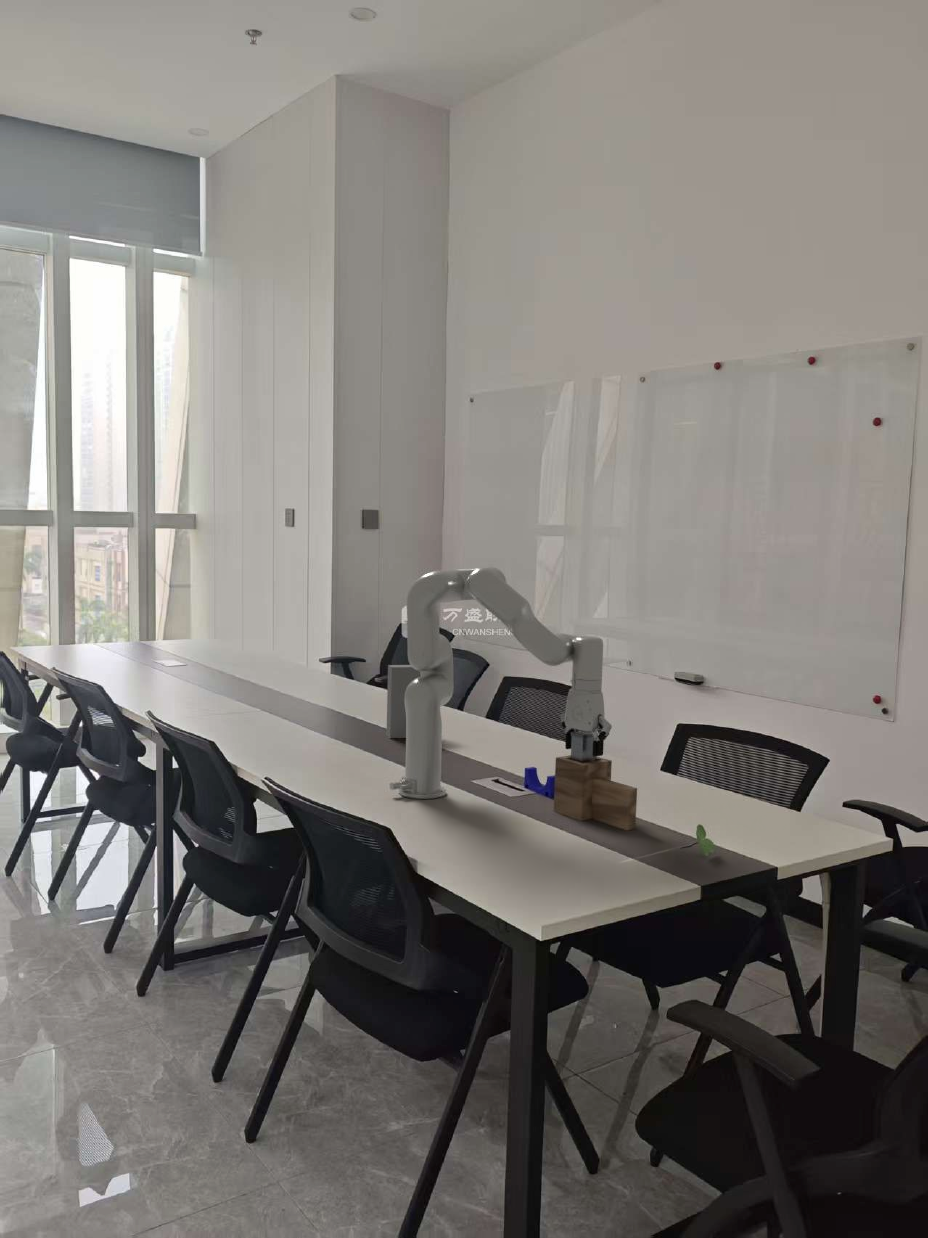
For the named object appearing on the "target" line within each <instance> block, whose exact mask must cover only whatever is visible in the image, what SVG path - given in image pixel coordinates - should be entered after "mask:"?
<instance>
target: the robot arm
mask: <svg viewBox="0 0 928 1238" xmlns="http://www.w3.org/2000/svg"><path fill="white" fill-rule="evenodd" d="M406 597H407V598H406V618H407V619H406V620H407V624H406V627H407V629H406V637H407V640H406V641H407V660H408V663H409V665H411V666H412V667H413V668H414V669H416V670H418V671H420V675H421V677H418V678H416V679H414V680H413V681H412V682H411V683H410V684H409V685H408V687H407V689H406V692H405V710H406V739H405V770H404V772H405V773H404V776H401V779H400V780H399V781H394V782H392V781H391V782H390V783H389V789H390V790H391V791H394V790H395V791H396V790H398V792H399V794H400V795H401V796H402V797H406V798H409V799H411V798H412V799H423V800H424V799H425V800H428V799H429V800H430V799H438V798H442V797H444V796H445V795H446V794H447V789H446V787H444V786H442V783H441V782H442V781H441V777H442V748H443V747H442V746H443V745H442V744H443V743H442V740H443V724H442V715H441V714H442V713H441V707H443V706H445V705H447V703H449V702H450V700H451V698H452V697H453V694H454V689H455V688H454V685H455V684H454V652H453V648H452V645H451V642H450V641H449V639H448V638H447V637H446V636H444V635H443V634H441V633H440V618H439V617H440V616H439V613H438V606H439V605H440V604H442V603H443V604H444V603H449V602H458V601H476V602H478V603H479V604H480V605H481V606H482V607H483V608H485V610H487V611H488V612H489V613H491V614H492V616H494V617H495V618H496V619H498V620H499V622H501V623H502V624H503V625H504V626H505V627H506V628H507V630H508V632H510V633H511V634H512V635H513V637H514V638H515V639H516V640H517V641H518V643H519V644H521V646H523V648H525V649H526V650H527V651H528V652H530V653H531V655H533V657H535V658H536V659H538V661H540V662H541V663H543V664H545V665H546V666H550V667H557V666H560V665H562V664H565V663H569V662H571V663H572V667H571V669H572V672H571V678H570V683H571V688H569V690H568V693H567V699H566V705H565V711H564V712H562V713H560V714H559V717H560V721H561V726H562V727H563V732H564V734H565V747H564V748H565V749H566V750H571V741H572V736H571V732H576V731H583V732H592V734H593V736H594V738H595V740H594V741H593V753H592V755H593V756H594V757H602V756H604V746H605V745H604V744H605V743H604V741H606V740H607V737H608V736H609V735H610V733H611V730H612V728H613V727H612V723H610V722H609V721H608V720H607V719H606V717H605V702H604V701H605V700H604V694H603V692H602V688H603V687H602V685H603V662H604V659H603V658H604V641H603V639H602V638H600V637H598V636H592V635H591V636H589V635H584V636H582V635H581V636H579V635H578V636H577V635H574V634H573V635H572V634H569V633H561V632H559V633H555V634H554V633H553V632H552V631H550V629H548V628H547V627H546V626H545V625H544V624H543V623H542V622H540V620H538V618H537V617H536V616H535V614H534V612H533V610H532V607H531V605H530V602H529V601H528V600H527V599H526V598H525V597H524V596H523V595H521V594H520V593H519V592H518V591H516V590H515V589H514V588H513V587H512V586H510V585H509V584H508V582H507V579H506V577H505V574H504V573H503V572H502V571H501V570H500V569H498V568H496V567H494V566H487V567H478V568H463V569H446V570H445V569H444V570H434V571H430V572H428V573H426V574H423V575H422V576H420V577H419V578H417V579H416V580H415V581H414V582H413V584H412V585H411V586H410V589H409V591H408V593H407V596H406Z"/></svg>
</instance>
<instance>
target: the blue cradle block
mask: <svg viewBox="0 0 928 1238" xmlns="http://www.w3.org/2000/svg"><path fill="white" fill-rule="evenodd" d="M523 781H524V783H523V788H524V789H527V790H529V791H531V792H534V793H536V794H538V795H541V796H543V797H546V798H549V799H554V790H555V774H553V775H548V776H546V782H545V783H544V785H543V784H542V783H541V782H540V781H541V780H540V779H539V776H538V768H537V767H535V766H532V767H531V766H529V767H524V780H523Z"/></svg>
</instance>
